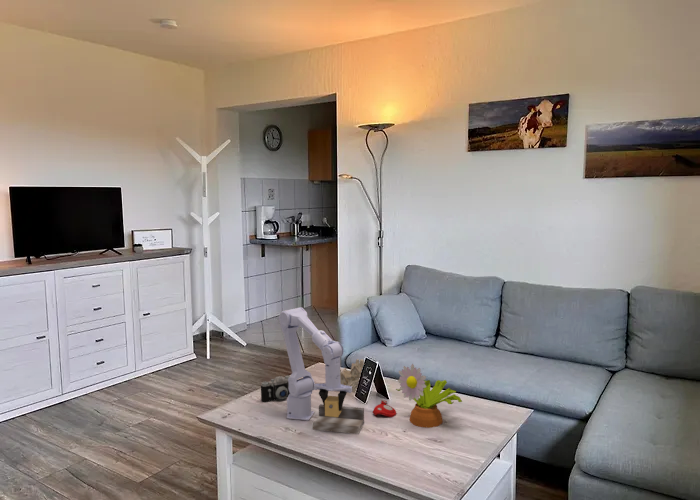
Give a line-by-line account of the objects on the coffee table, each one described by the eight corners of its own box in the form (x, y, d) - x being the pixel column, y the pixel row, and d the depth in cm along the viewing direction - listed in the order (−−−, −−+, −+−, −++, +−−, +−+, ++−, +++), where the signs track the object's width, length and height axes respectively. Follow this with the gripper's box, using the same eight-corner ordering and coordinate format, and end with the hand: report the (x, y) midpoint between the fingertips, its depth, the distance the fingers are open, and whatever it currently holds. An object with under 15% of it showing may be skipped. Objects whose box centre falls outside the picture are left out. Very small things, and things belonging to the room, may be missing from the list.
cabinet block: (324, 416, 194) (324, 401, 194) (328, 410, 200) (328, 395, 199) (337, 418, 193) (336, 402, 192) (341, 411, 199) (341, 396, 198)
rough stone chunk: (372, 382, 248) (370, 351, 246) (359, 395, 233) (356, 363, 231) (343, 380, 254) (340, 350, 252) (328, 393, 239) (325, 361, 237)
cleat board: (312, 429, 198) (312, 414, 198) (320, 418, 208) (320, 404, 207) (358, 434, 194) (358, 418, 193) (364, 422, 204) (363, 408, 203)
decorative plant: (384, 420, 206) (383, 359, 203) (419, 402, 223) (419, 345, 220) (442, 441, 187) (442, 374, 185) (475, 419, 205) (476, 358, 202)
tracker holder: (401, 412, 210) (382, 412, 205) (398, 422, 211) (378, 422, 206) (386, 396, 221) (367, 395, 215) (383, 405, 221) (364, 405, 216)
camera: (266, 405, 222) (265, 383, 221) (259, 400, 228) (259, 378, 227) (297, 398, 230) (296, 376, 229) (290, 393, 235) (289, 372, 234)
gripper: (311, 376, 193) (311, 411, 195) (348, 379, 190) (349, 415, 191) (317, 370, 200) (317, 404, 202) (353, 373, 197) (353, 407, 198)
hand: (333, 409), depth 197 cm, fingers closed on cabinet block, 5 cm apart
